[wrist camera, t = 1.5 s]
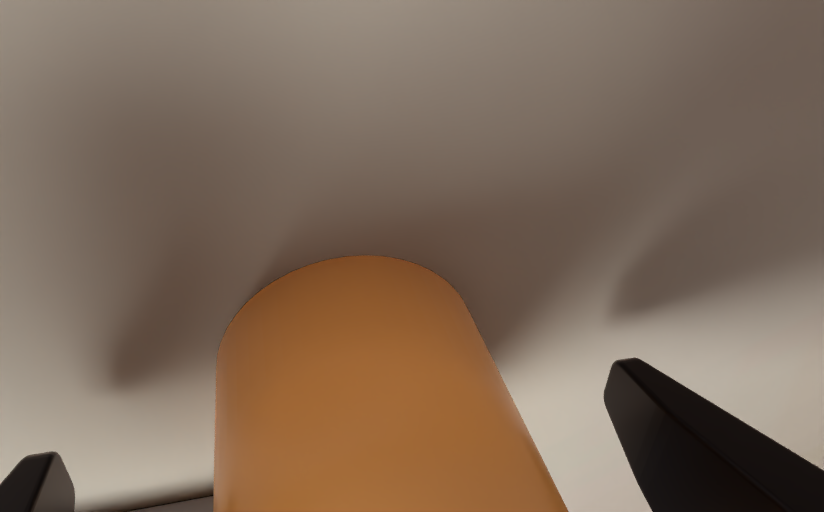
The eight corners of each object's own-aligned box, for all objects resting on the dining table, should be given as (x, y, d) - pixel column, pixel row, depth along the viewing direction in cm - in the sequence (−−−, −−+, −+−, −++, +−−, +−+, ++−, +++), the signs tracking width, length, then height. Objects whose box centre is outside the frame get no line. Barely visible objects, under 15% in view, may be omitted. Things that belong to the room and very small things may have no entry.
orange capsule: (462, 426, 13) (602, 781, 8) (234, 466, 12) (240, 898, 7) (484, 241, 10) (709, 603, 5) (195, 273, 9) (160, 748, 4)
